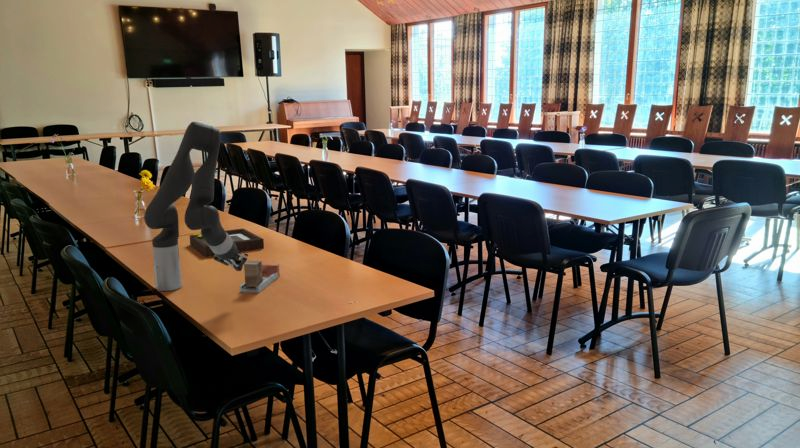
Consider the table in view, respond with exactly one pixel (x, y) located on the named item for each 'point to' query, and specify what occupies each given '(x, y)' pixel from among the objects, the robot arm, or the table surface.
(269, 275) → the track
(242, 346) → the table surface
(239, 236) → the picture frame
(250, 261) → the slider block
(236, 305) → the table surface
